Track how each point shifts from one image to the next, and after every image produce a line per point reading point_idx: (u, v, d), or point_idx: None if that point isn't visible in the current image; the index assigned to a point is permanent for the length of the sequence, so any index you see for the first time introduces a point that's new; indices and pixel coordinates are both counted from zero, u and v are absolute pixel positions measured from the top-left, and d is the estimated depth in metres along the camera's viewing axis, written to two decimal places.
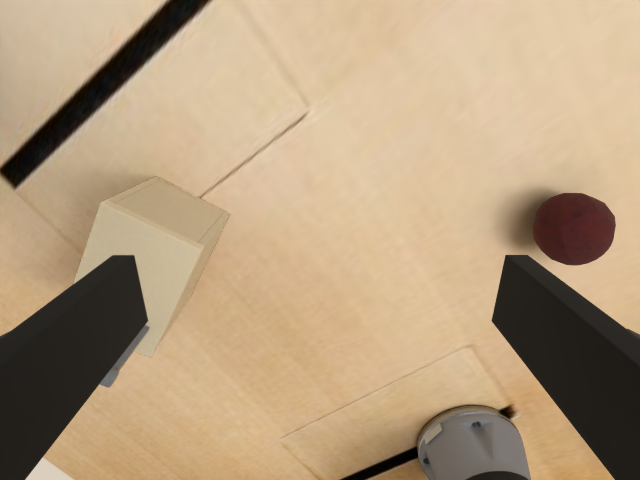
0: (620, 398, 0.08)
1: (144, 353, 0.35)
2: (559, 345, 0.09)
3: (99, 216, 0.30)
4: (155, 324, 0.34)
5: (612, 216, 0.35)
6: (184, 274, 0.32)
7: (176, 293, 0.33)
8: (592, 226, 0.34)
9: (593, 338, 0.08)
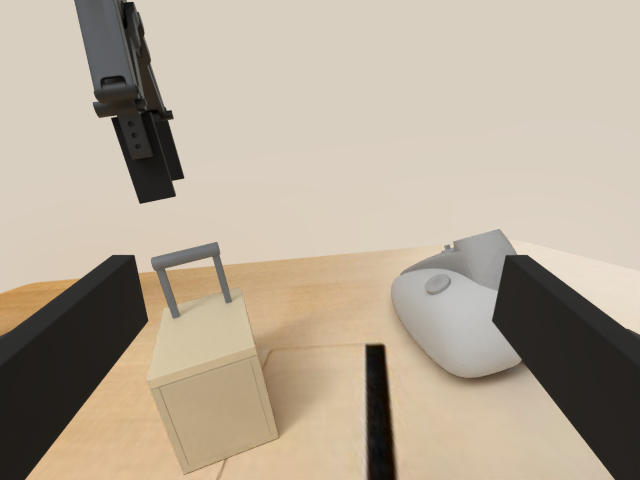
0: (620, 398, 0.08)
1: None
2: (559, 345, 0.09)
3: (250, 339, 0.32)
4: (168, 322, 0.38)
5: None
6: (156, 358, 0.32)
7: (158, 345, 0.34)
8: None
9: (593, 338, 0.08)
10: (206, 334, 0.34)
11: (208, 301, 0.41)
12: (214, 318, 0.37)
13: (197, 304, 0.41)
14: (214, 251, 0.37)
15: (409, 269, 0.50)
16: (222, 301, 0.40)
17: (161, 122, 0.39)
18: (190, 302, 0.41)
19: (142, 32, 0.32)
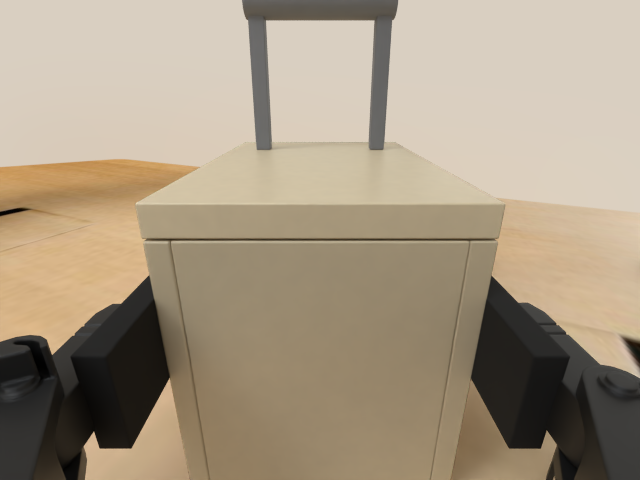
0: (500, 357, 0.09)
1: None
2: None
3: (474, 190, 0.10)
4: (247, 151, 0.17)
5: None
6: (193, 178, 0.11)
7: (211, 166, 0.13)
8: None
9: (486, 308, 0.10)
10: (330, 169, 0.13)
11: (331, 145, 0.20)
12: (347, 157, 0.15)
13: (308, 145, 0.20)
14: None
15: None
16: (360, 147, 0.19)
17: None
18: (295, 143, 0.21)
19: None
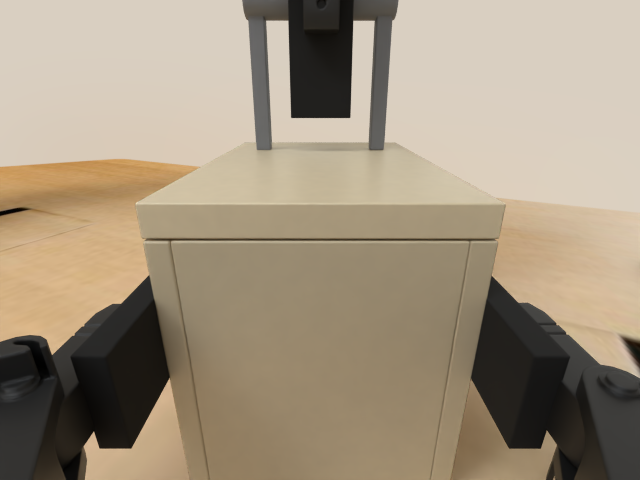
0: (500, 357, 0.09)
1: None
2: None
3: (474, 190, 0.10)
4: (247, 151, 0.17)
5: None
6: (193, 178, 0.11)
7: (211, 166, 0.13)
8: None
9: (486, 308, 0.10)
10: (330, 169, 0.13)
11: (331, 145, 0.20)
12: (347, 158, 0.15)
13: (308, 145, 0.20)
14: None
15: None
16: (360, 148, 0.19)
17: None
18: (295, 143, 0.21)
19: None
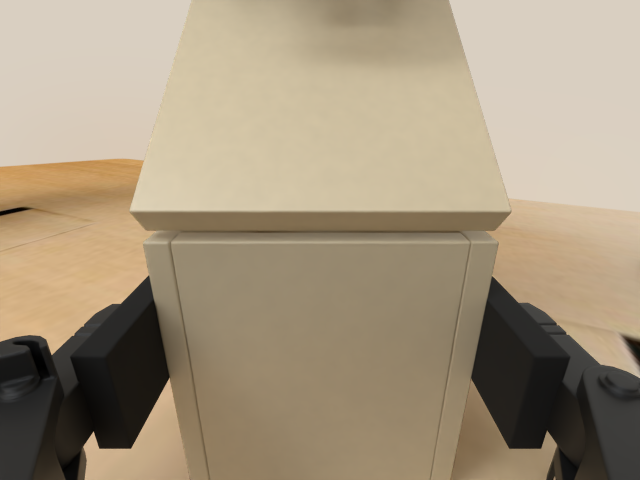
0: (501, 357, 0.09)
1: None
2: None
3: (489, 169, 0.09)
4: None
5: None
6: (172, 119, 0.10)
7: (184, 66, 0.11)
8: None
9: (487, 308, 0.10)
10: (332, 82, 0.10)
11: None
12: (356, 25, 0.12)
13: None
14: None
15: None
16: None
17: None
18: None
19: None
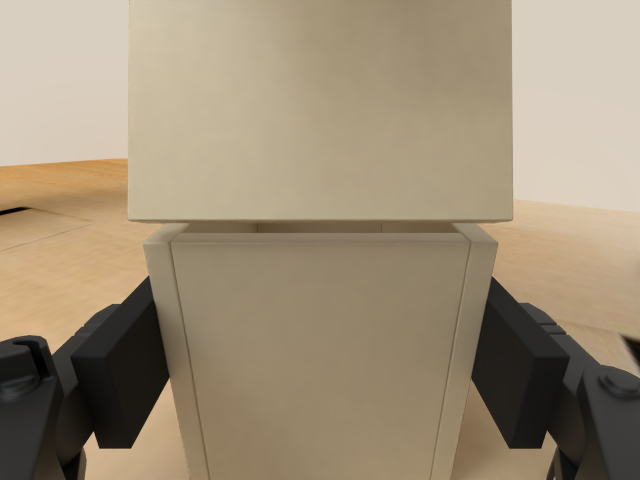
0: (501, 357, 0.09)
1: None
2: None
3: (502, 167, 0.08)
4: None
5: None
6: (146, 93, 0.08)
7: (144, 0, 0.08)
8: None
9: (487, 308, 0.10)
10: (335, 30, 0.08)
11: None
12: None
13: None
14: None
15: None
16: None
17: None
18: None
19: None
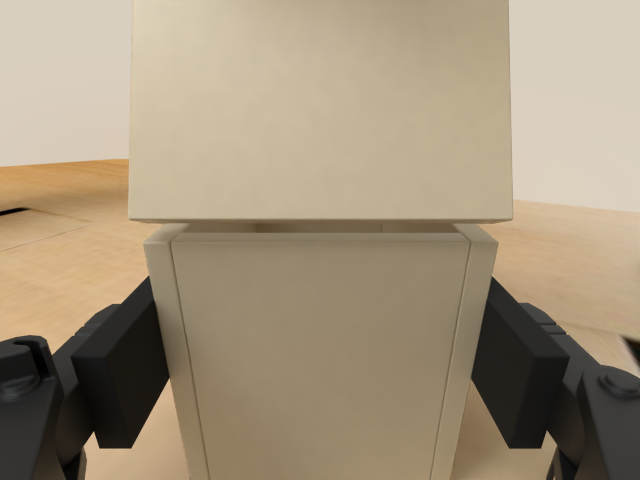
0: (501, 357, 0.09)
1: None
2: None
3: (501, 166, 0.08)
4: None
5: None
6: (148, 94, 0.08)
7: (147, 3, 0.08)
8: None
9: (487, 308, 0.10)
10: (335, 32, 0.08)
11: None
12: None
13: None
14: None
15: None
16: None
17: None
18: None
19: None
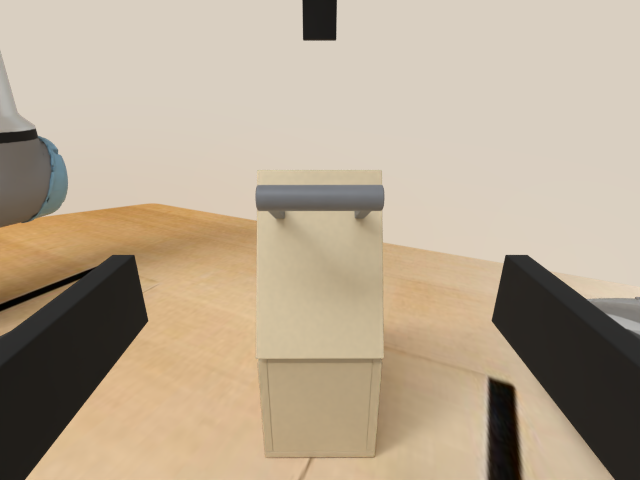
0: (620, 398, 0.08)
1: (267, 173, 0.26)
2: (559, 345, 0.09)
3: (380, 340, 0.25)
4: (270, 225, 0.25)
5: None
6: (262, 316, 0.25)
7: (261, 284, 0.25)
8: None
9: (593, 338, 0.08)
10: (324, 294, 0.25)
11: None
12: (336, 255, 0.25)
13: None
14: (373, 210, 0.19)
15: None
16: None
17: None
18: (299, 177, 0.26)
19: None
